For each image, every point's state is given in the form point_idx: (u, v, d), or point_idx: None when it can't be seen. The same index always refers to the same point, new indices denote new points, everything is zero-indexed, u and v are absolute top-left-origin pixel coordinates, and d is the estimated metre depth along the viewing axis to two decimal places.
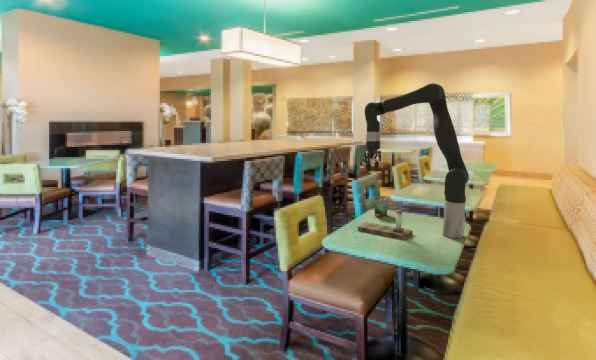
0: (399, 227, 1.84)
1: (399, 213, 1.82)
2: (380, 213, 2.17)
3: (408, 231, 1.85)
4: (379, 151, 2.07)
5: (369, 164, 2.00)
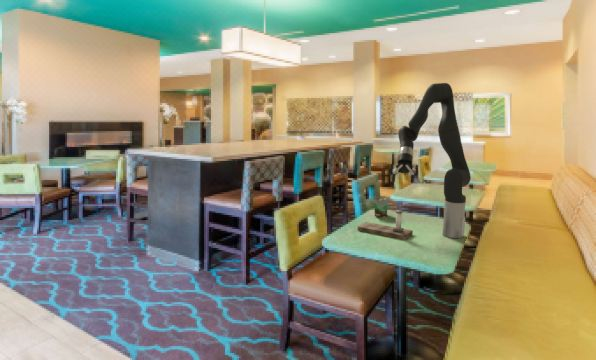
0: (399, 227, 1.84)
1: (399, 213, 1.82)
2: (380, 213, 2.17)
3: (408, 231, 1.85)
4: None
5: (393, 174, 1.95)
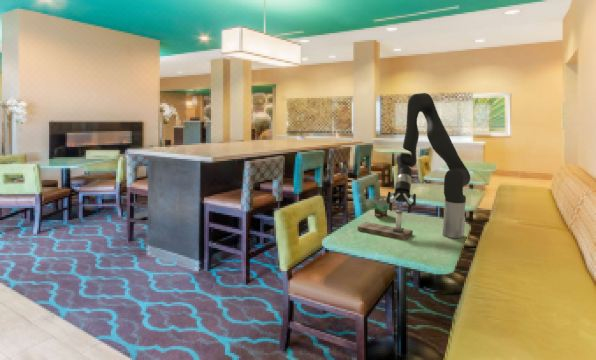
0: (399, 227, 1.84)
1: (399, 213, 1.82)
2: (380, 213, 2.17)
3: (408, 231, 1.85)
4: (413, 194, 1.90)
5: (390, 203, 1.91)
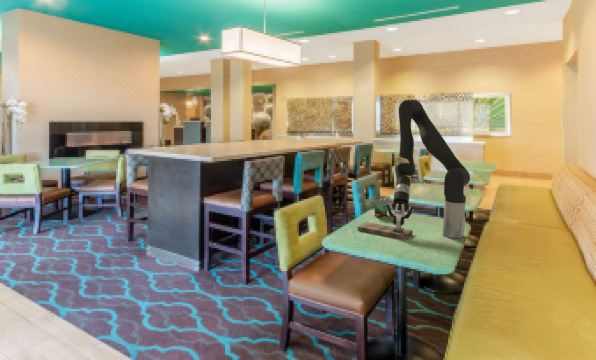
0: (399, 227, 1.84)
1: (399, 213, 1.82)
2: (380, 213, 2.17)
3: (408, 231, 1.85)
4: (411, 207, 1.85)
5: (393, 216, 1.85)
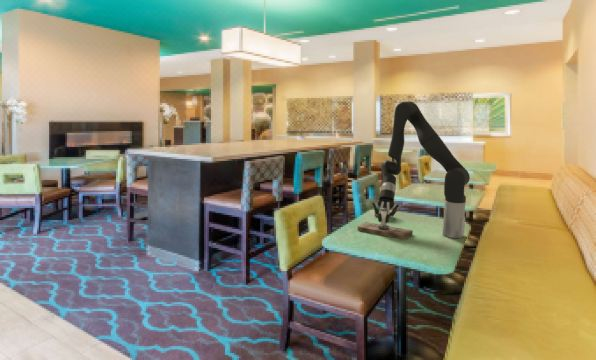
0: (384, 224, 1.88)
1: (384, 211, 1.87)
2: None
3: (408, 231, 1.85)
4: (396, 205, 1.90)
5: (379, 214, 1.89)
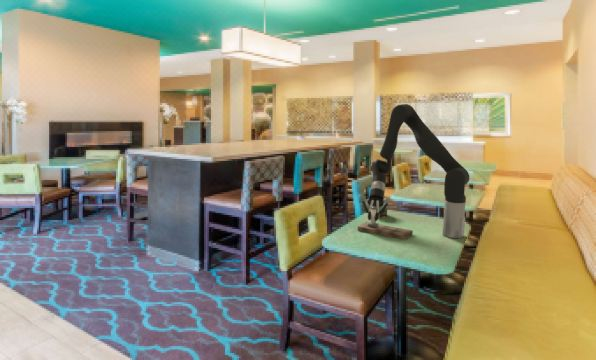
0: (374, 222, 1.91)
1: (373, 209, 1.90)
2: None
3: (408, 231, 1.85)
4: (386, 203, 1.93)
5: (368, 212, 1.92)
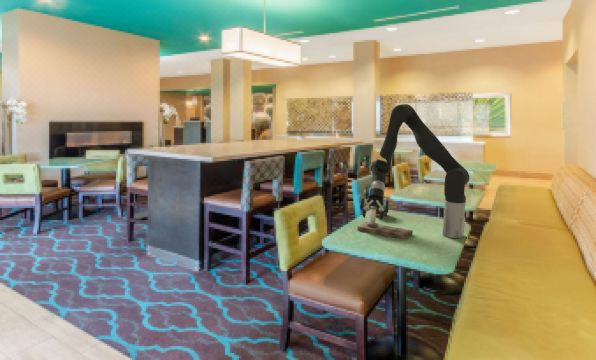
0: (373, 222, 1.91)
1: (373, 209, 1.90)
2: (380, 213, 2.17)
3: (408, 231, 1.85)
4: (386, 201, 1.94)
5: (363, 210, 1.94)
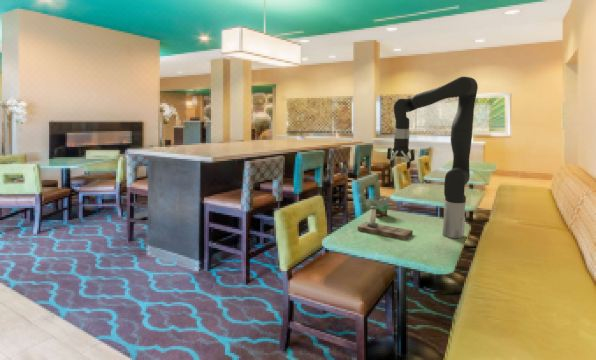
0: (373, 222, 1.91)
1: (373, 209, 1.90)
2: (380, 213, 2.17)
3: (408, 231, 1.85)
4: (410, 150, 1.95)
5: (390, 160, 2.03)
